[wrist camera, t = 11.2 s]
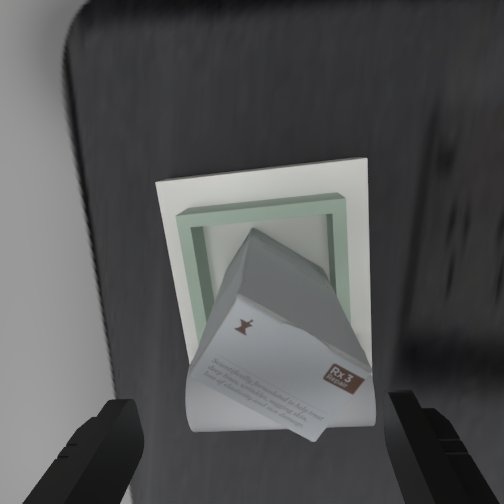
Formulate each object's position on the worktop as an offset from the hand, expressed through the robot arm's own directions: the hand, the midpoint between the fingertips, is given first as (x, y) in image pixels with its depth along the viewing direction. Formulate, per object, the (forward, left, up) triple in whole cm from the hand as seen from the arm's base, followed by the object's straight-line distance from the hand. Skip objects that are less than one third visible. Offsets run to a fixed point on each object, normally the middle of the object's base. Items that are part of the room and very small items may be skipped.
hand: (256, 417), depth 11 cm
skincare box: (0, 0, -14) cm, 14 cm away
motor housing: (0, +2, -17) cm, 17 cm away
